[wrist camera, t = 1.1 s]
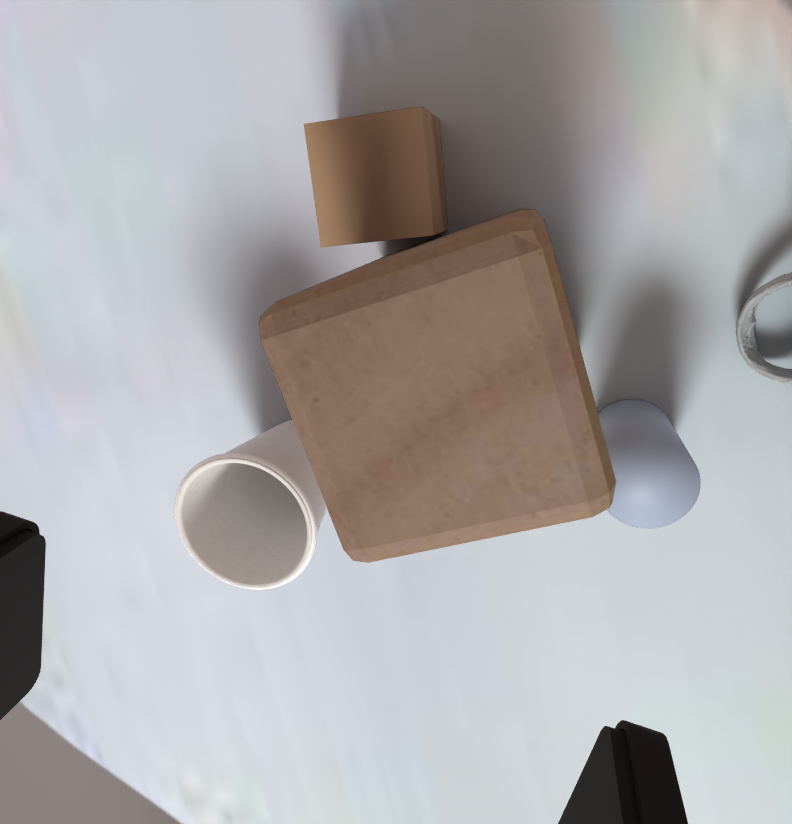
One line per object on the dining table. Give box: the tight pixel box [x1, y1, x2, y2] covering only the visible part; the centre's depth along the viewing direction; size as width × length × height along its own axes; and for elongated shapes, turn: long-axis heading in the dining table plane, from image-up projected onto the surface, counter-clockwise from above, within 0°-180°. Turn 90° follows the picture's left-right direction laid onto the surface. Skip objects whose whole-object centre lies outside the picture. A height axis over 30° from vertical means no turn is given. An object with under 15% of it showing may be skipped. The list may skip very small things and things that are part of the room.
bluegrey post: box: [598, 399, 701, 528], centre depth 37 cm, size 5×5×7 cm
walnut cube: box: [304, 106, 448, 247], centre depth 35 cm, size 6×6×6 cm
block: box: [259, 209, 616, 563], centre depth 30 cm, size 10×10×20 cm
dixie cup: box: [175, 420, 327, 589], centre depth 40 cm, size 8×8×10 cm
